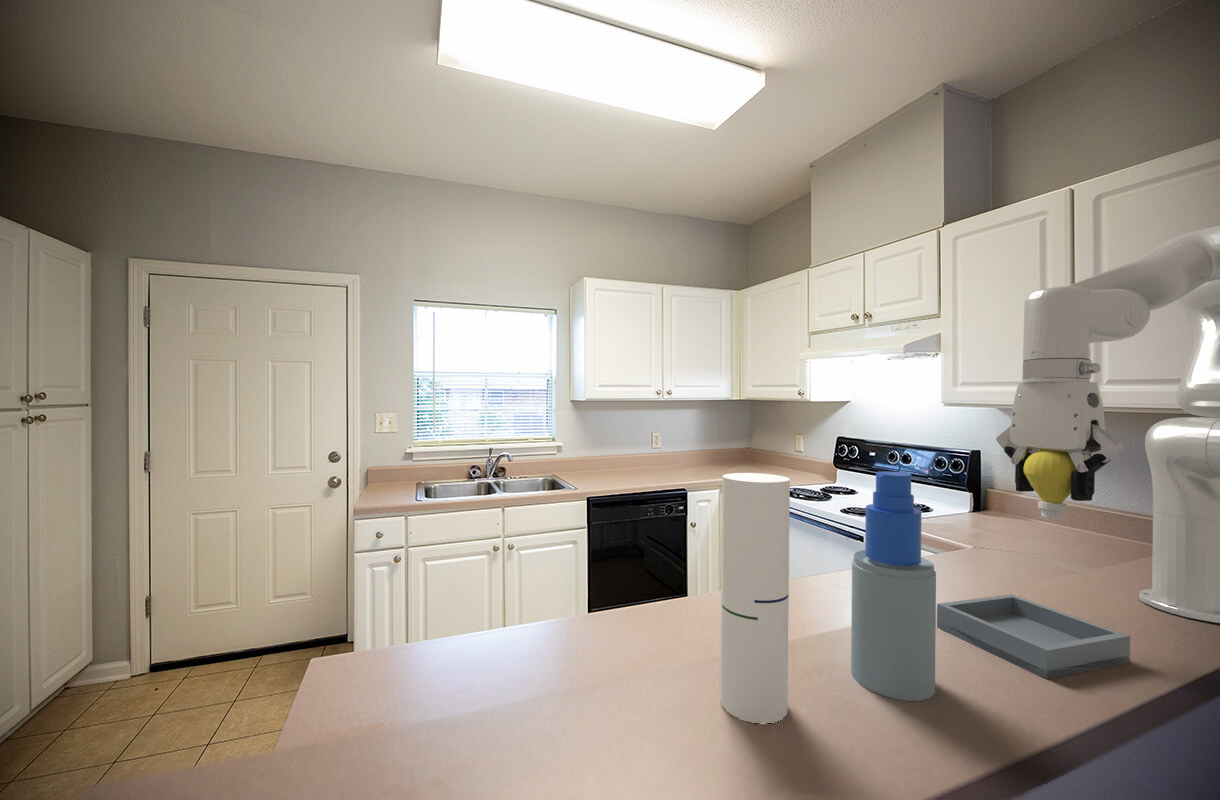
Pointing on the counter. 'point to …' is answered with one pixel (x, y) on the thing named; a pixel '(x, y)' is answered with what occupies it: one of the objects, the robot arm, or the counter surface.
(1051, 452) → the light bulb
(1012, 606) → the tray
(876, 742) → the counter surface
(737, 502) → the cylindrical container
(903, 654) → the spray bottle
